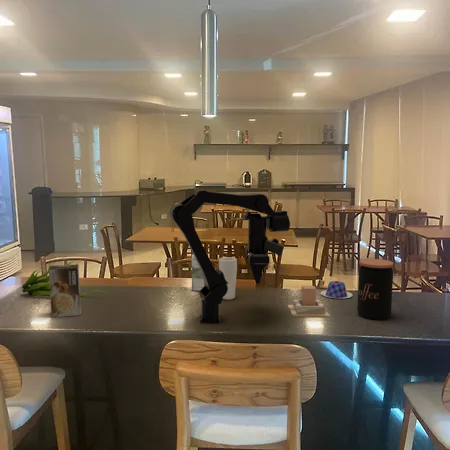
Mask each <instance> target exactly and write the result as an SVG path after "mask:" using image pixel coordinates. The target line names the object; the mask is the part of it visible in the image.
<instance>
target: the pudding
mask: <svg viewBox="0 0 450 450" xmlns="http://www.w3.org/2000/svg"><path fill="white" fill-rule="evenodd" d="M320 295H321V296H323V297H326V298H331V299H349V298H351V297H353V296H354V295H353V293H351V292H349V291H347V288H346V284H345V283H344V282H343V281H337V280H333V281H329V282H328V286H327V288H326V289H325V290H321V292H320Z"/></svg>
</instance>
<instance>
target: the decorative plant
mask: <svg viewBox="0 0 450 450" xmlns="http://www.w3.org/2000/svg"><path fill="white" fill-rule="evenodd" d="M79 260H82V258H80V259H75V260H73V261H70V262H68V263H66V264H65V265H72V263H74V262H77V263H76V264H78V263H79V262H78V261H79ZM54 261H55V259H54V260H52V262H54ZM52 262H49V265H48V267H47V271H46V272H45V273H43V274H41V275H38V274H39V273H41V272H42V267H40V268H39V269H37V270H34V271H32V273H31V275H30V276H29V277H28V278H27V280H26V281H25V283H23V284H22V287H21V288H22V292H23V294H25V293H27V294H28V295H30V296H32V295H33V296H39V295H49V296H50V281H49V268H50V266H51V264H52ZM35 273H36V274H35ZM93 292H101V293H104V294H107V295H108V292H107V293H106V292H105V291H102V290H99V289H98V290H97V289H94V290H93V289H92V290H90V291H88V292H85V293H80V298H81V297H85V296H88V295H89V294H91V293H93Z"/></svg>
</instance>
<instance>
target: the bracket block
mask: <svg viewBox="0 0 450 450" xmlns="http://www.w3.org/2000/svg"><path fill="white" fill-rule="evenodd" d="M316 298H317V288H316V286H314V285H301V298H300V299H301V306H315V305H316Z"/></svg>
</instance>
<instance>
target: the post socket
mask: <svg viewBox="0 0 450 450" xmlns="http://www.w3.org/2000/svg"><path fill="white" fill-rule="evenodd" d="M287 307H289V308H288V309H290V310H289V311H290V313H291V315H292V317H293V318H331V314H329V312H328V311H327V310H326V307H325V305H324V304H323V302H321V300H320V299H319V298H317V299H316V305H315V306H301V298H293V299H292V304H287Z"/></svg>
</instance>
